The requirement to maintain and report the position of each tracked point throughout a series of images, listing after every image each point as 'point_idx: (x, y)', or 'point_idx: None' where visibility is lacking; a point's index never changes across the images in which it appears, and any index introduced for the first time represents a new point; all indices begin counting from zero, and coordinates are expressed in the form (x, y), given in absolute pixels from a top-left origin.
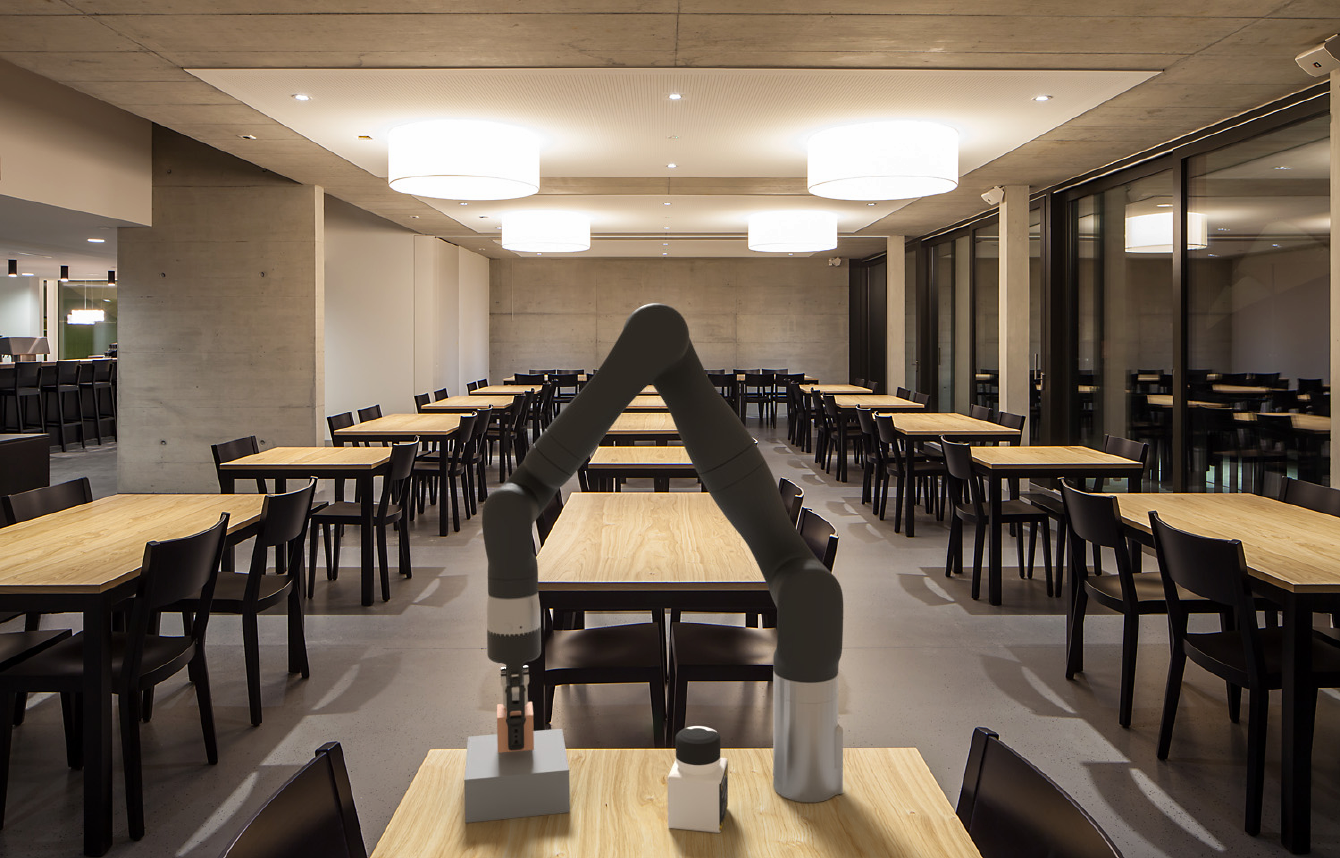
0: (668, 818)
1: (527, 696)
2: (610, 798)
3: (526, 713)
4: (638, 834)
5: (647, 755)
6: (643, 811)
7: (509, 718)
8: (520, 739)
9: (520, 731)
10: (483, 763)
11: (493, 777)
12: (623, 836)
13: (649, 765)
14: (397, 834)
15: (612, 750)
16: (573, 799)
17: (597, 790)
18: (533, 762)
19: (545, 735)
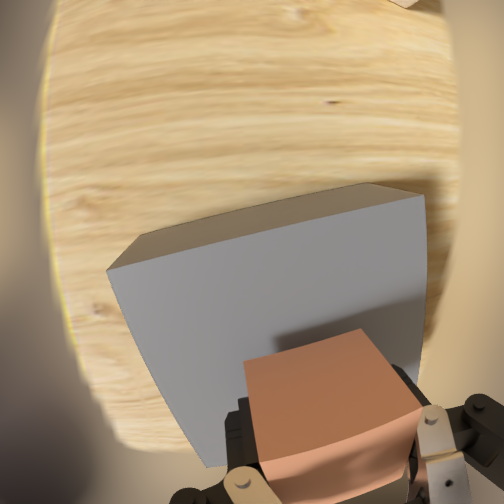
0: (415, 2)
1: (467, 478)
2: (304, 93)
3: (399, 433)
4: (427, 57)
5: (79, 41)
6: (355, 32)
7: (485, 438)
8: (410, 379)
9: (421, 396)
10: None
11: (418, 368)
12: (435, 82)
13: (130, 24)
14: None
15: (49, 128)
16: (309, 180)
17: (264, 125)
18: (372, 308)
19: (169, 317)
